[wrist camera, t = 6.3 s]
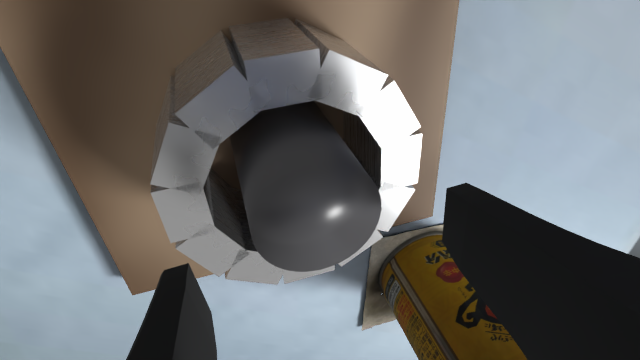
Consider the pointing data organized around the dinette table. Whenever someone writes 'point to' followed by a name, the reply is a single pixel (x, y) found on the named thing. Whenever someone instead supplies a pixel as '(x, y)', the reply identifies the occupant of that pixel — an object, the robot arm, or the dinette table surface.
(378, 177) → the white faceted ring
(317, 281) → the dinette table surface
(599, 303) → the robot arm
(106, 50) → the walnut board
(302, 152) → the dark rounded capsule
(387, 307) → the condiment
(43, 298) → the dinette table surface
